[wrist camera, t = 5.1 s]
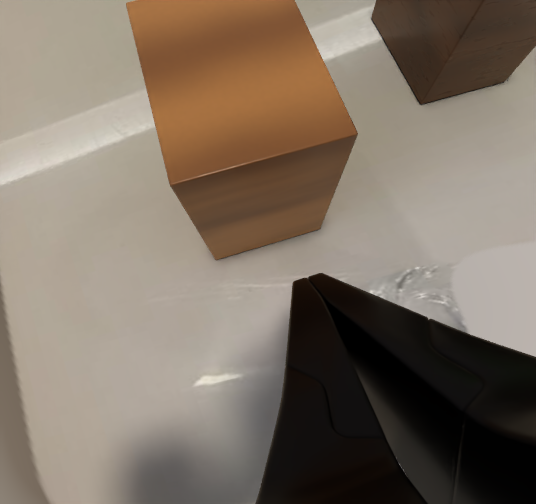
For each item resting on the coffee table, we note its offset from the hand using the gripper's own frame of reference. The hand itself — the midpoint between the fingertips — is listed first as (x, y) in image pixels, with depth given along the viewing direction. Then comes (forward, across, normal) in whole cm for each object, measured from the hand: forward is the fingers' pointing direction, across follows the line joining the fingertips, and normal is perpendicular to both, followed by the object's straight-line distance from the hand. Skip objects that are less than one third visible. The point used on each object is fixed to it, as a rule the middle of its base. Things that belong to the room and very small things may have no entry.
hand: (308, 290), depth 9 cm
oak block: (+11, 0, 0) cm, 11 cm away
